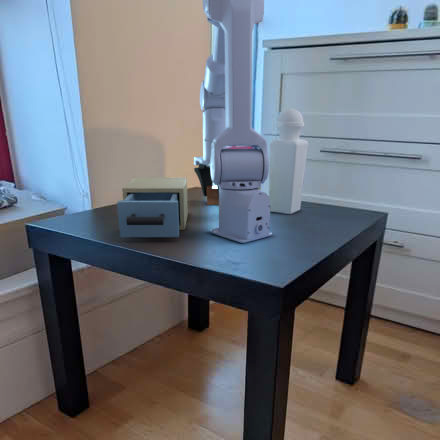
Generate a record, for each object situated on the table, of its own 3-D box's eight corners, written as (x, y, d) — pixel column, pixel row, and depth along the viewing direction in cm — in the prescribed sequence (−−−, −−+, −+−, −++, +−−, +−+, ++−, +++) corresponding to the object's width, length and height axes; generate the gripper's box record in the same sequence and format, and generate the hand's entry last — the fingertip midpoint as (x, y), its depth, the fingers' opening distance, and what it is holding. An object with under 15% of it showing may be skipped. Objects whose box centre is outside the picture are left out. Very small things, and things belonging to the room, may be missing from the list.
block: (222, 201, 107) (222, 185, 106) (223, 204, 104) (223, 188, 102) (207, 201, 107) (206, 185, 106) (206, 204, 104) (206, 188, 102)
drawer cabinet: (184, 230, 82) (183, 188, 79) (125, 230, 82) (121, 188, 79) (187, 213, 95) (186, 177, 91) (136, 214, 94) (133, 177, 91)
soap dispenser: (265, 211, 97) (270, 108, 88) (278, 206, 102) (284, 108, 93) (291, 215, 94) (299, 108, 85) (303, 209, 99) (311, 108, 90)
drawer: (177, 244, 70) (175, 207, 68) (115, 245, 70) (111, 207, 67) (182, 220, 86) (181, 189, 83) (131, 220, 86) (129, 189, 83)
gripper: (183, 139, 102) (185, 195, 108) (221, 142, 92) (220, 204, 97) (206, 138, 106) (206, 191, 112) (244, 141, 96) (243, 200, 102)
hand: (214, 197), depth 105 cm, fingers closed on block, 5 cm apart
